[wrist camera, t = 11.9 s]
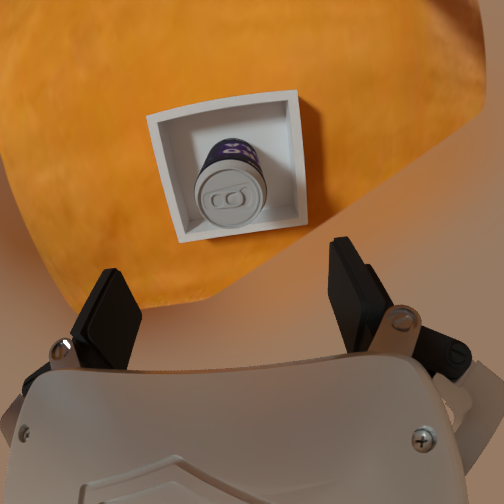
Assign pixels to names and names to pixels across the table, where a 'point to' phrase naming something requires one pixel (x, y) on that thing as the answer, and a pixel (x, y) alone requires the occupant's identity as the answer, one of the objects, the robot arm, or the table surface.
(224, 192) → the beverage can
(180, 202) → the box
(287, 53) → the table surface
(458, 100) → the table surface
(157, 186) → the table surface
